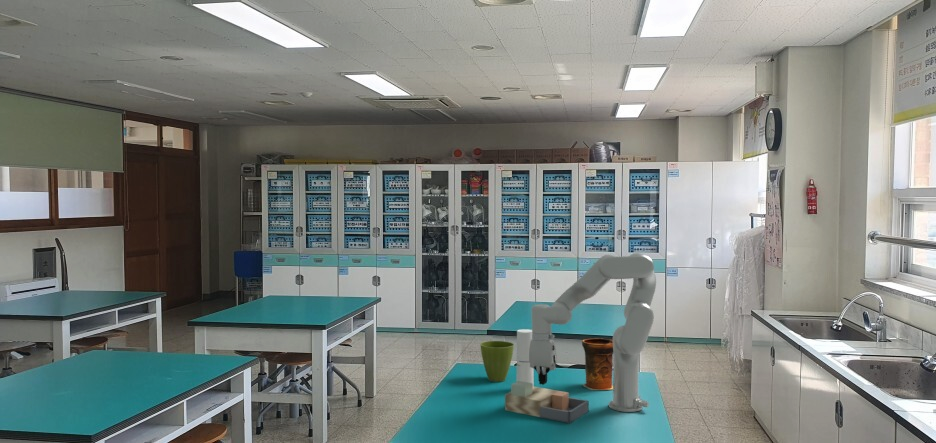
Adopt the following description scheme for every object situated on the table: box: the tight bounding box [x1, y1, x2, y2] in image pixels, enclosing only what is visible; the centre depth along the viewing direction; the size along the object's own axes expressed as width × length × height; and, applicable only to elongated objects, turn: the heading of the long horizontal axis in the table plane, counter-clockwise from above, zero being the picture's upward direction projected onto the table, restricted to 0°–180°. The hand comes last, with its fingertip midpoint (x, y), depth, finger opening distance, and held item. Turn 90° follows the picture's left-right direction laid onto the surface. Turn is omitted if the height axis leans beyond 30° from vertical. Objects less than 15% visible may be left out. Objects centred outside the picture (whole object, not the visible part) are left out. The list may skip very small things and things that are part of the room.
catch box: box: [539, 397, 590, 424], centre depth 249 cm, size 12×17×4 cm
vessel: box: [581, 337, 614, 391], centre depth 287 cm, size 14×14×20 cm
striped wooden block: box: [504, 386, 559, 418], centre depth 257 cm, size 15×16×6 cm
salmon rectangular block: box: [552, 390, 570, 411], centre depth 254 cm, size 6×6×4 cm
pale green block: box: [510, 380, 533, 397], centre depth 254 cm, size 6×6×4 cm
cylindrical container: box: [516, 328, 535, 387], centre depth 282 cm, size 7×7×25 cm
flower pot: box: [479, 340, 515, 383], centre depth 298 cm, size 15×15×16 cm
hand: (543, 383), depth 259 cm, fingers closed
